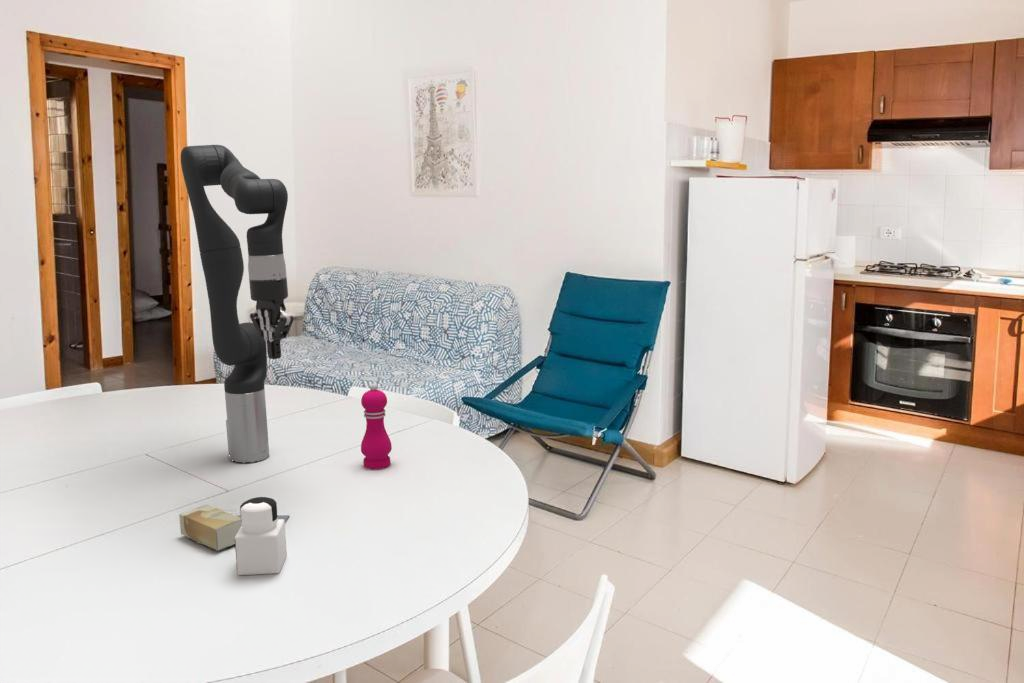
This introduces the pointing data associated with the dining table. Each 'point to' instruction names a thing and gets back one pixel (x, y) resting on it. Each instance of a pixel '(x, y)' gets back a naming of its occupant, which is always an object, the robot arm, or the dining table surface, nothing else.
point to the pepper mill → (375, 430)
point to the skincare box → (210, 526)
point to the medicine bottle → (260, 538)
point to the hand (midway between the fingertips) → (274, 358)
